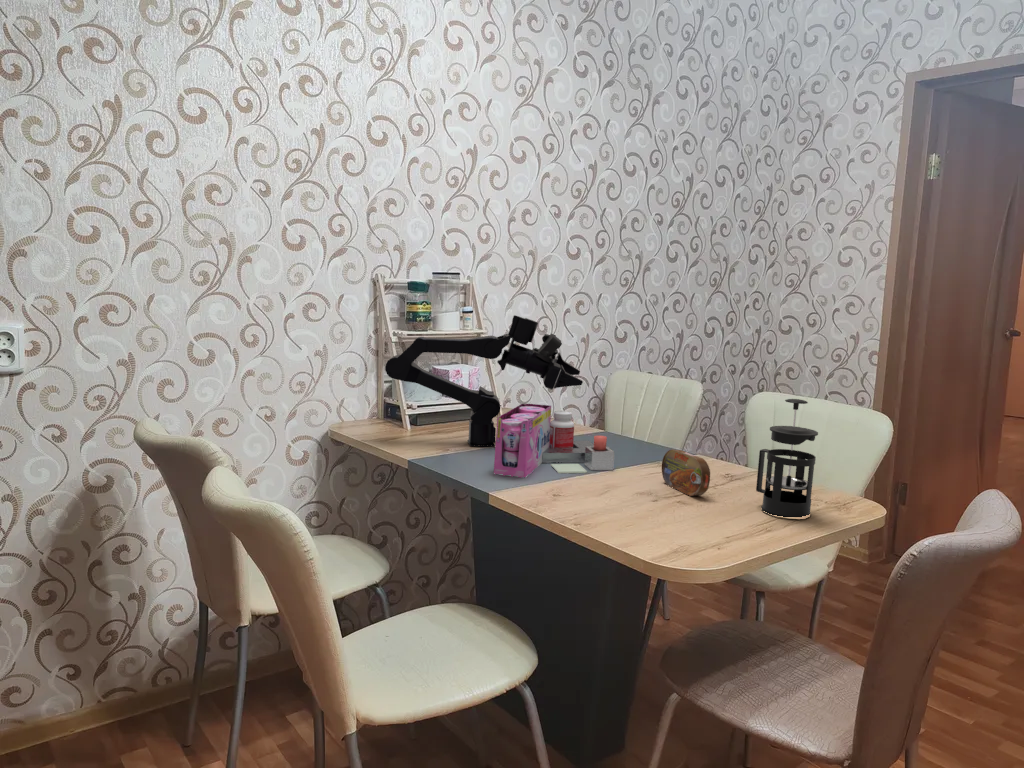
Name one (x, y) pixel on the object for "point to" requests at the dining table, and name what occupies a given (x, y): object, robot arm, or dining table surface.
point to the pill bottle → (561, 430)
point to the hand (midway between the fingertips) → (580, 377)
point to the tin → (686, 472)
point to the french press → (787, 500)
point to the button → (600, 442)
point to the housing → (599, 458)
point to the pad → (568, 468)
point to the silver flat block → (566, 453)
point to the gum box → (522, 439)
